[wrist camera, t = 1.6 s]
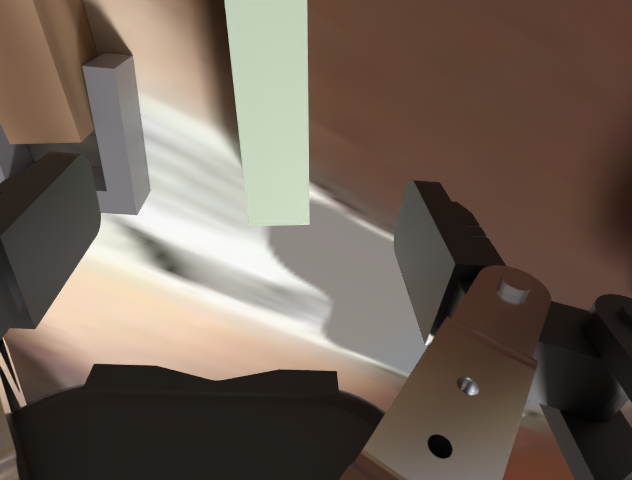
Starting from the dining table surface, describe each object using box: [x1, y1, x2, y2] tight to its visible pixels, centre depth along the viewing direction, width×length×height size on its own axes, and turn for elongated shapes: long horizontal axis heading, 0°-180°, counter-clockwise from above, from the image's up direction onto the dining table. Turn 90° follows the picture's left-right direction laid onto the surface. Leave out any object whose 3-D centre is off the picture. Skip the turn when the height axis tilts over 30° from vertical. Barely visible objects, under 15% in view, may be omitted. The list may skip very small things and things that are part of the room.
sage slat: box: [224, 0, 309, 226], centre depth 22 cm, size 4×16×5 cm, turn 0°
